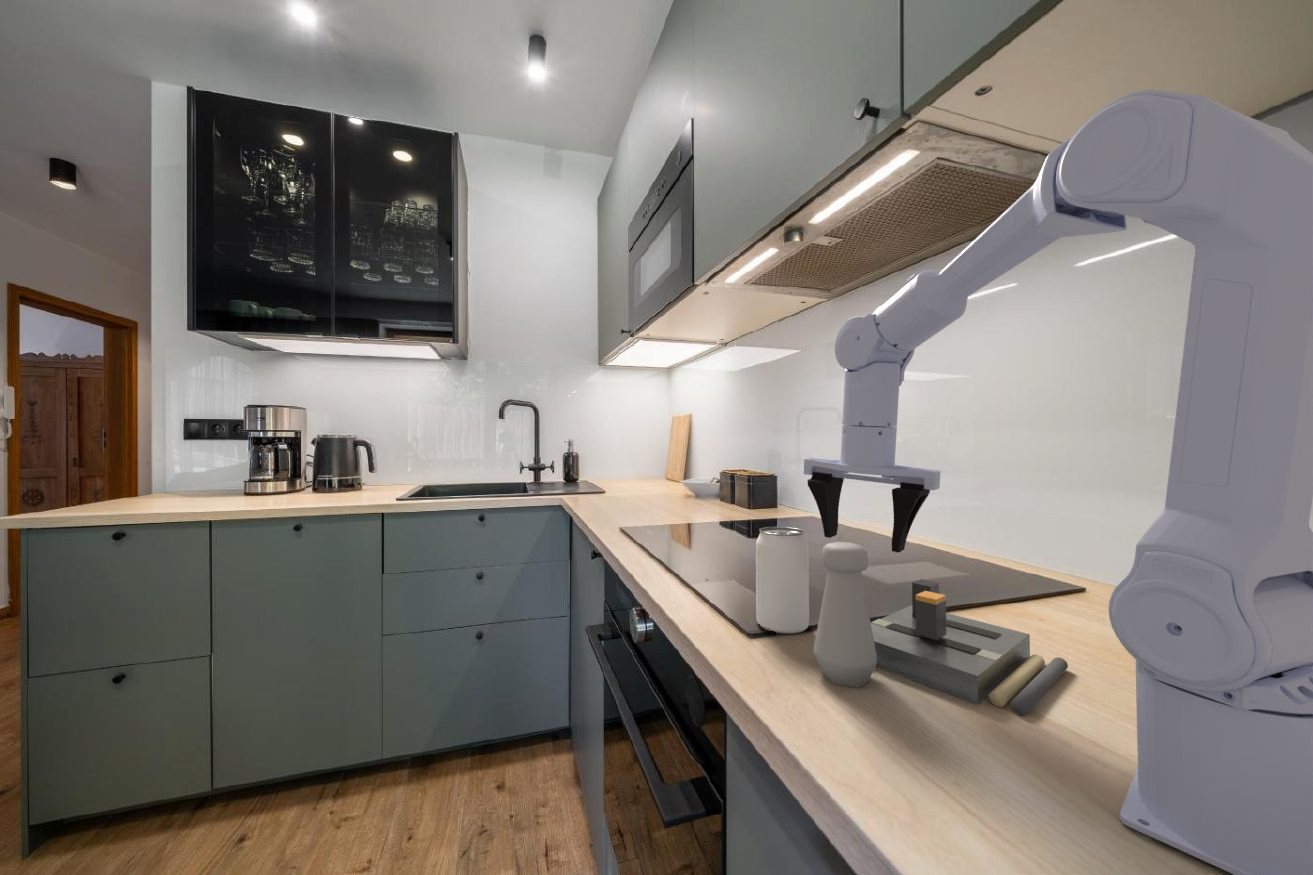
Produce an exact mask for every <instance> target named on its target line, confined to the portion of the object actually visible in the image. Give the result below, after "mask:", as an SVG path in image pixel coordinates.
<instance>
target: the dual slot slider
mask: <svg viewBox="0 0 1313 875" xmlns="http://www.w3.org/2000/svg"><path fill="white" fill-rule="evenodd" d="M924 591H929V592H934V593H938V594H940V582H936V581H932V580H926V579H921V578H919V579H918V580H916V581H913V582H911V597H912V600H911V604H910V605H909V606H907V607H904V608H902V609H900V610H897V611H895V612H893V613H890V614H888V615H887V616H884V617H882V618H877V619H876V620H873V621H872V622H871V621H870V623H871V628H872V634H873V639H874V644H875V649H876V654H877V663H876V666H875V667H877V668H880V669H882V670H885V671H887V672H891V673H893V674H896V675H899V676H901V677H903V678H906V679H909V680H912V681H914V682H917V683H919V684H921V685H925V686H927V687H931V688H932V689H935V690H938V691H941V692H943V693H946V694H949V695H952V696H954V697H956V698H960V699H962V700H964V701H967V702H970V703H973V704H975V705H979V704H980V703H982V702H983V701H984V700H985V699H986V698H987V697H989V694H990V693H991V692H992V691H993V690H994V689H995V688H996V687H997V686H998V685H1000V684H1001V683H1002V682H1003V681H1004V680H1005V679H1006V678H1007V677H1008V676H1010V675H1011V674H1012V673H1013V672H1014V671H1015V670H1016V669H1017V668H1018V667H1020V666H1021V665H1022V664H1023V663H1024V662H1025V661H1026V660H1027V659H1028V658H1030V657H1031V642H1030V641H1031V640H1030V639H1031V638H1030V637H1031V635H1030V633H1026V632H1023V631H1019V630H1016V629H1011V628H1007V627H1003V626H998V625H995V624H992V623H987V622H984V621H979V620H975V619H972V618H968V617H964V616H960V615H956V614H953V613H952V614H951V613H947V612H946V635H945V636H943V637H941V638H940V639H938V640H934V639H931V638H927V637H924V636H921V635H917V634H916V595H917V594H919V593H921V592H924Z"/></svg>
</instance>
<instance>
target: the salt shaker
mask: <svg viewBox="0 0 1313 875" xmlns="http://www.w3.org/2000/svg"><path fill="white" fill-rule="evenodd" d="M821 563H822V566H824V567H826V568H827V575H826V579H825V585H824V591H823V597H822V600H821V601H822V602H821V607H820V612H819V618H818V622H817V623H818V624H817V629H816V635H815V639H814V640H815V641H814V645H813V653H814V657H815V658H816V662H817V663H818V666H819V668H820V670H821V673H822V675H823V676H824V677H826V678H827V679H829V681H831V682H832V683H834V684H837V685H840V686H841V685H843V686H847V687H852V688H856V687H860V686H862V685H865V684H867V683H869V682H870V679H871V678H872V676H873V673H874V671H875V668H876V667H877V666H876V663H877V654H876V649H875V644H874V639H873V634H872V628H871V618H870V613H869V607H868V602H867V595H866V591H865V584H864V579H863V573H862V572H863V571H866V570H867V569H868V567H869V566H868V565H869V557H868V550H867V549H866V548H865V547H864V546H862V545H860V544H857V543H852V542H847V541H834V542H829V543H826V544H825V545H824V546H823V548H822V550H821Z"/></svg>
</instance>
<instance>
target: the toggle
mask: <svg viewBox="0 0 1313 875" xmlns="http://www.w3.org/2000/svg"><path fill="white" fill-rule="evenodd" d="M946 613H947V595H945V594H942V593H939V594H938V593H934V592H929V591H924V592H921V593H919V594H917V595H916V634H917V635H921V636H924V637H927V638H931V639H934V640H938V639H940V638H941V637H943V636H945V635H946Z"/></svg>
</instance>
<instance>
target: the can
mask: <svg viewBox="0 0 1313 875" xmlns="http://www.w3.org/2000/svg"><path fill="white" fill-rule="evenodd" d="M758 531H759V534H758V537H757V539H756V542H755V592H756V593H755V596H756V597H755V602H756V604H755V605H756V607H755V610H756V612H755V613H756V614H755V615H756V616H755V617H756V622H757V624H758V625H759V624H760V625H761V626H763V627H766V628H769V629H771V630H773V631H775V632H776V633H775V634H780V635H798V634H801V633H804V632H805V631H806V630H807V629H808V628H809V626H810V597H809V596H810V583H809V582H810V581H809V580H810V577H809V576H810V572H809V571H810V569H809V565H810V564H809V562H810V561H809V559H810V558H809V556H810V555H809V554H810V553H809V543H808V541H807V538H806V536H805V533H806V532H805V530H803V529H800V528H796V527H788V526H765V527H762V528H759V529H758ZM760 625H759V626H760ZM761 626H760V627H761Z"/></svg>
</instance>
